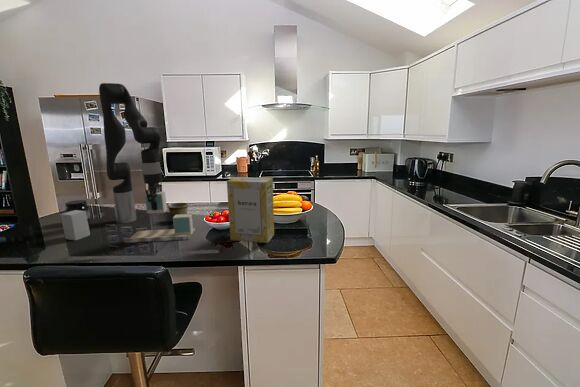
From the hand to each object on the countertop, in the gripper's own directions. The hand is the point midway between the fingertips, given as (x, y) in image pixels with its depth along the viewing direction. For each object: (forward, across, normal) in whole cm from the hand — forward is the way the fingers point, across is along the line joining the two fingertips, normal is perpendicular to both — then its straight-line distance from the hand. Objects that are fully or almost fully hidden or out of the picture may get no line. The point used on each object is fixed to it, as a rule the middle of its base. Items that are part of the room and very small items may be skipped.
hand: (156, 208), depth 130 cm
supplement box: (+15, +7, +41) cm, 44 cm away
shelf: (+15, +1, -1) cm, 15 cm away
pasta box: (+15, -5, -44) cm, 47 cm away
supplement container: (+15, +31, +54) cm, 64 cm away
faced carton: (+13, +1, -11) cm, 17 cm away
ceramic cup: (+15, +24, -2) cm, 28 cm away
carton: (+2, 0, 0) cm, 2 cm away
